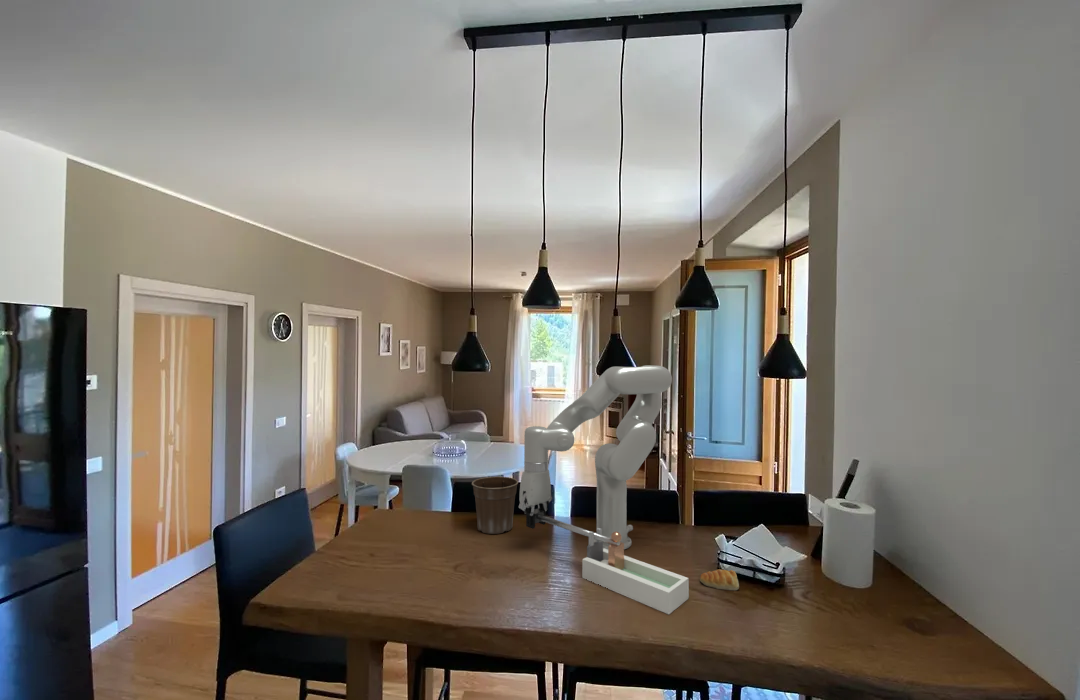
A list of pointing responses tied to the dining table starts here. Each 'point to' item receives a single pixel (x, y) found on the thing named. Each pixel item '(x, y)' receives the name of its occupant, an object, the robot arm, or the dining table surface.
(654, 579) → the foosball box
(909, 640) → the dining table surface
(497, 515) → the plant pot
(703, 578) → the pastry
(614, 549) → the kicker rod
